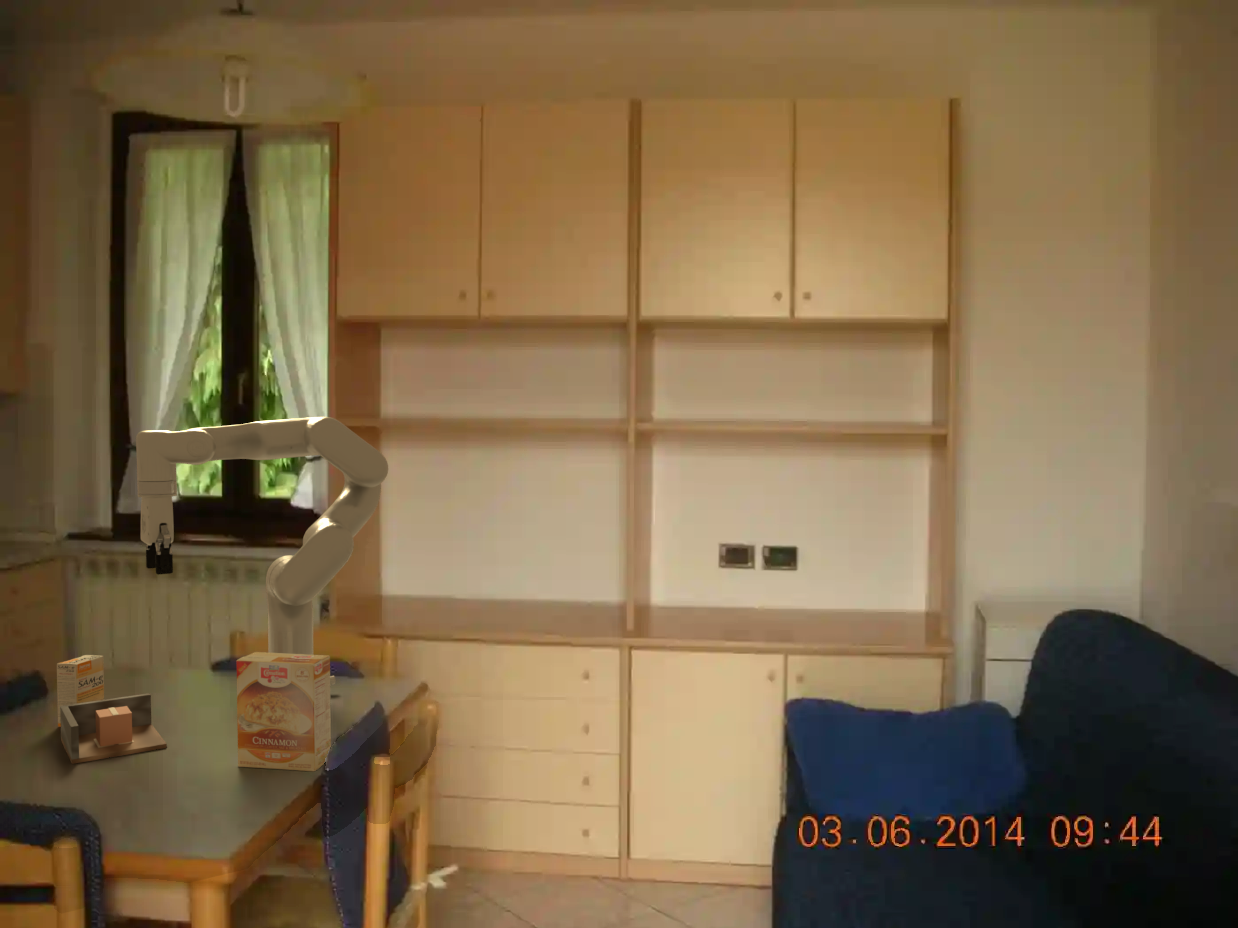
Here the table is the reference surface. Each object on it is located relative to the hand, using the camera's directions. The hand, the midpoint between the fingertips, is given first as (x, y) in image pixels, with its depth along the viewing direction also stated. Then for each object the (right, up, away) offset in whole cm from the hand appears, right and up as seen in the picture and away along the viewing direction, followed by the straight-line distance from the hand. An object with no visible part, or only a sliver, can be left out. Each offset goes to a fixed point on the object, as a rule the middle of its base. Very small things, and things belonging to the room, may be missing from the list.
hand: (159, 570), depth 218 cm
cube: (0, -30, -19) cm, 36 cm away
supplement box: (-14, -31, -5) cm, 34 cm away
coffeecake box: (+36, -32, -29) cm, 56 cm away
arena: (0, -31, -19) cm, 37 cm away
